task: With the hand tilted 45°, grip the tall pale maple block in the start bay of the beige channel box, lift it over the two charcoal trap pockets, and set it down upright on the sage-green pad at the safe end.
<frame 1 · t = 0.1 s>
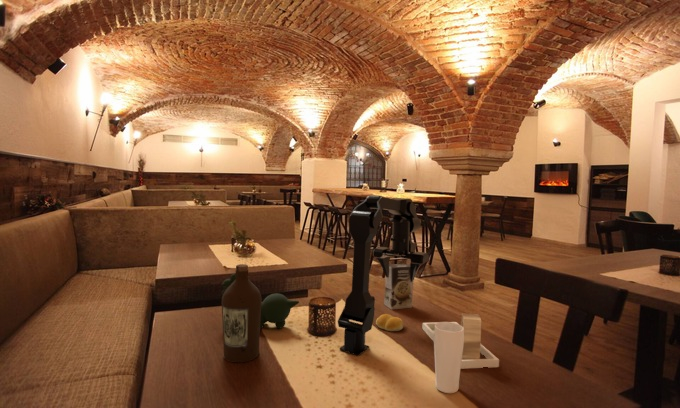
hand: (399, 279, 137), 15 cm above the table, tool pointing down, fingers open, 9 cm apart
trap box: (456, 345, 118), on the table
drinking glass: (446, 389, 94), on the table
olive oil: (241, 355, 109), on the table
toy figurine: (260, 327, 130), on the table
bread roll: (389, 327, 133), on the table
white cardboard box: (398, 306, 154), on the table
maple block: (469, 358, 110), resting in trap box
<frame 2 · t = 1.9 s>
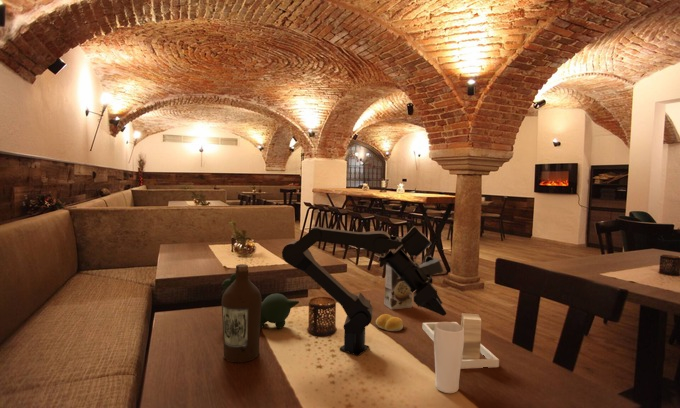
hand: (443, 309, 110), 13 cm above the table, tool tilted 45°, fingers open, 9 cm apart
nothing on the table moved.
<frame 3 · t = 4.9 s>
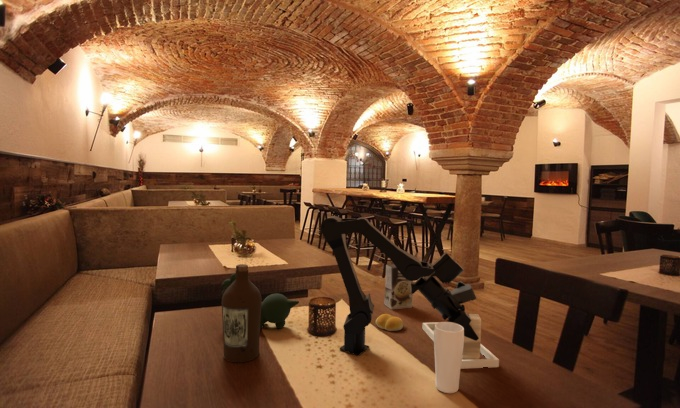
hand: (475, 336, 109), 7 cm above the table, tool tilted 45°, fingers closed on maple block, 4 cm apart
maple block: (469, 358, 110), resting in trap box, touching gripper
everything else where it was.
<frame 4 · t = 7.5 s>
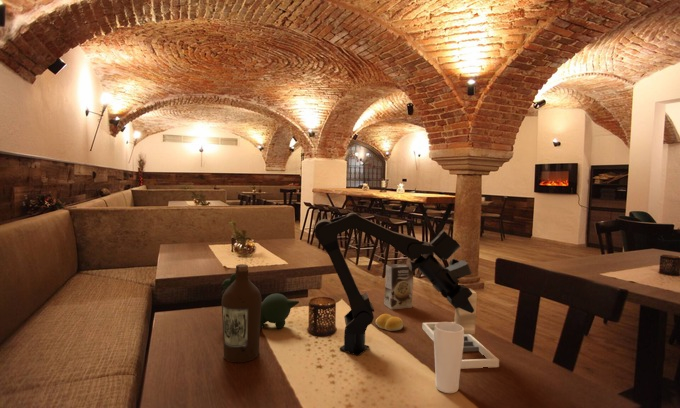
hand: (469, 309, 115), 12 cm above the table, tool tilted 45°, fingers closed on maple block, 4 cm apart
maple block: (464, 331, 116), point 5 cm above the table, touching gripper
everything else where it was.
when the fingers open (8 cm above the table, at t = 10.2 s): maple block stays where it is, resting on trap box.
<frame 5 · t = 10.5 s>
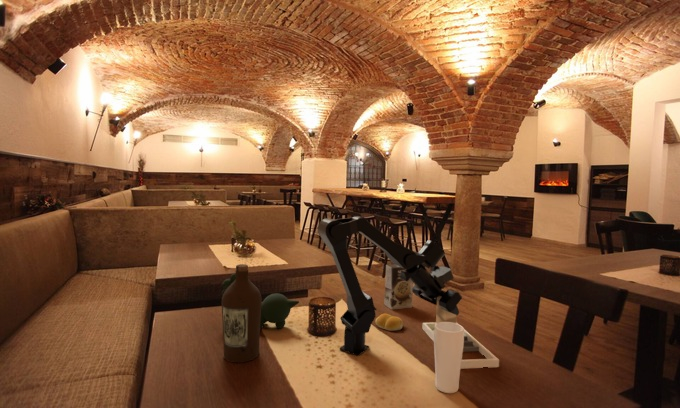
hand: (450, 310, 127), 8 cm above the table, tool tilted 45°, fingers open, 7 cm apart
maple block: (445, 333, 127), resting on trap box
everything else where it was.
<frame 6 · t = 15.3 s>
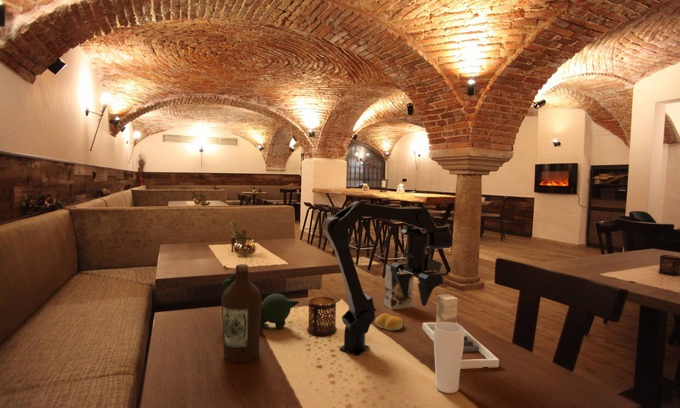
hand: (414, 301, 118), 13 cm above the table, tool pointing down, fingers open, 9 cm apart
nothing on the table moved.
at the end: maple block 0.1 cm from the target spot, resting on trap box; maple block tilted 0°; the gripper is holding nothing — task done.
